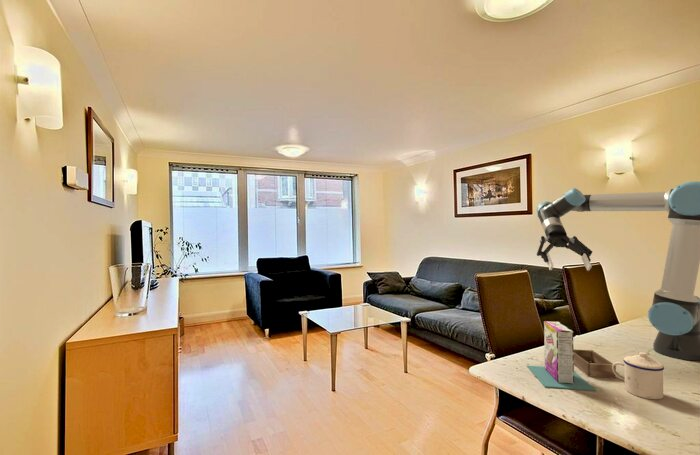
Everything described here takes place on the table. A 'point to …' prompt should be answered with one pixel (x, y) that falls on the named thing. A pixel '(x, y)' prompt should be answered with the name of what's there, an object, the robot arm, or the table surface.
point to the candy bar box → (559, 352)
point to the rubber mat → (552, 383)
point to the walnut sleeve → (593, 364)
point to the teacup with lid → (642, 376)
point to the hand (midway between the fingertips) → (570, 268)
